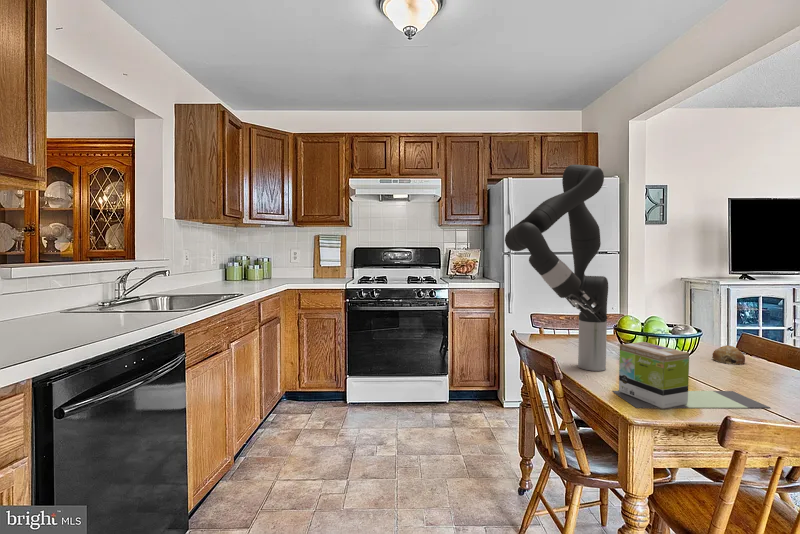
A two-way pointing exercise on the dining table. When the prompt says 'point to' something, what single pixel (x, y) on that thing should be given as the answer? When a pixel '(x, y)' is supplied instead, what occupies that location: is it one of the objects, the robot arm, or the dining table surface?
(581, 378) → the dining table surface
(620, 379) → the tea box
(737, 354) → the bread roll
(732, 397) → the mat
